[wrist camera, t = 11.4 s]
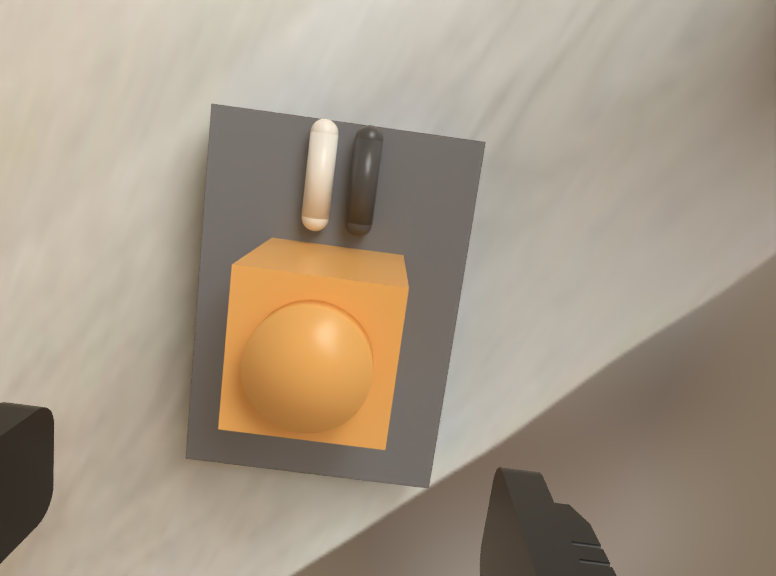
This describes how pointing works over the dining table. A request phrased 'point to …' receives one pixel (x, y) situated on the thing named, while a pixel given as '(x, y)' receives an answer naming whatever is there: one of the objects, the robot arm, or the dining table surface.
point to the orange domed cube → (313, 343)
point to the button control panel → (344, 229)
